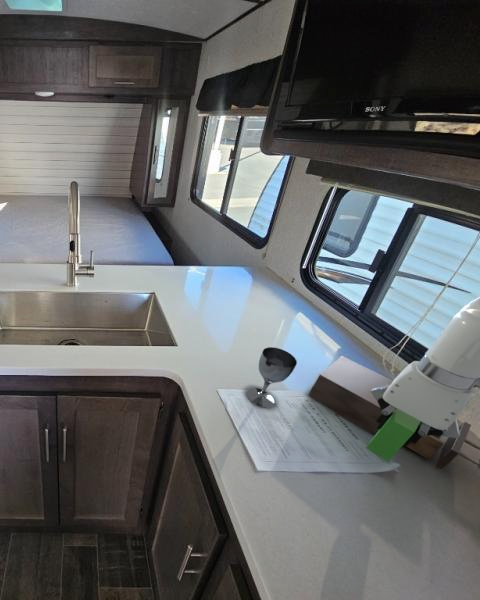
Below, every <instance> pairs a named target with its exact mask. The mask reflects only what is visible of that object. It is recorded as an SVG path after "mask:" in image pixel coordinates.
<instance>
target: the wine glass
mask: <svg viewBox="0 0 480 600" xmlns="http://www.w3.org/2000/svg"><path fill="white" fill-rule="evenodd" d="M297 364H298V361H297V359H296V358H295V356H293V355H292V353H290V352H289V351H287V350H284V349H282V348H278V347H265V348H264V349H263V350H262V351H261V354H260V357H259V361H258V371H259V374H260V376H261V377H262V378H263V381H264V382H263V386H262V389H261V388H258V387H250V388H248V389H247V390H246V396H247V398H248V400H249V401H251V402H252V403H253V404H254V405H257V406H258V407H261V408H265V409H266V408H269V409H270V408H272V407H274V405H275V399H274V397H273V396H272V395H271V394H270V393H269V392H267V389H268V388H269V387H270V385H271V384H276V383H281V382H284V381H286V380H287V379H288V378H289V377H290V376H291V375H292V374H293V372H294V370H295V369H296V366H297Z"/></svg>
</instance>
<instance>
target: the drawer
mask: <svg viewBox="0 0 480 600" xmlns="http://www.w3.org/2000/svg"><path fill="white" fill-rule="evenodd" d="M393 412H394V411H393ZM421 424H422V421H421V422H420V424H419V426H421ZM458 426H459V431H460V436H459V438H451V437H447V439H446V441H443V440H441V437H442V435H441V436H431V435H426V436H422V437H421V438H420V439H419V440H418V441H417V442H416V443H415V444H414V443H412V442H410V443H409V445H408V446H406V445H404V446H405V447H406V448H408V449H410V450H412V451H413V452H415V453H416V454H418V455H420V456H421V457H423V458H425V459H427V460H429V459H430V458H431V457H432V456H433V455H434V454H436V452H437V451H439V449H440V448H441V447H442V449H441V452H440V454H439V456H438V457H437V460H436V462H435V464H434V467H435V468H436V469H438V470H440V471H442V470H443V469H444V468H446V467H447V466H448V465H449V463H451V462H452V461H453V460H454V459H456V457H457V456H459V457H462V458H463V459H465V460H466V461H468V462H470V463H471V464H474V465H475V466H477V468H478V469H479V470H480V459H479V460H476V459H475V458H472V457H470V456H469V455H467V454H465V453H463V452H461V450H462V448H463V445H464V443H465V444H468V445H469V446H471V447H473V448H475V449H476V450H479V451H480V445H479V444H476V443H474V442H473V441H471V440H469V439H467V436H468V434H469V431H470V430H471V427H472V424H470V423H469V422H466V421H463V422H462V423H461V424H460V425H458ZM377 431H379V429H378V430H377Z"/></svg>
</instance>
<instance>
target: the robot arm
mask: <svg viewBox="0 0 480 600" xmlns="http://www.w3.org/2000/svg"><path fill="white" fill-rule="evenodd" d="M392 381H393V382H392V383H391V384H390V385H386V386H381V387H377V388H373V389H372V390H371V394H372V395H373V396H374V397H375V399H377V402H378V404H379V406H380V408H381V410H382V411H381V412H382V414H381V415H380V417H379V418H378V419H377V420H376V422H378V423H379V425H378V426H377V429H381V428H382V427H383V425H384V424H385V423H386V422H387V421H388V419H389V418H390V417H391V415H392V414H393V411H395V410H396V409H399V410H401V411H403V412H405V413H407V414H408V415H410V416H412V417H414V418H416V419H418V420H420V421H422V424H421V426H418V427H417V429H416V431H415V432H414V434H413V435H412V436H411V437H410V438H409V439H408V440H407V441H406V442H405V444H404V445H403V446H405V445H406V446H405V447H407V446H408V445H409V443H410V442H412V443H414V444H415V443H416V442H417V441H418V440H419V439H420V438H421V437H422V436H426V435H431V436H441V437H446V438H448V437H451V438H459V436H460V431H459V426H460V425H459V423H458V418H459V416H461V414H462V413H463V411H464V410H465V409H466V408H467V407H468V405H469V404H470V402H471V401H472V400H473V397H474V396H475V393H476V392H477V388H478V389H480V296H479V297H477V298H475V299H473V300H471V301H470V302H469V303H467V304H465V305H464V306H463V307H462V308H461V309H460V311H459V312H457V313H456V314H455V315H454V316H453V317H452V319H451V320H450V322H449V323H448V324H447V325H446V327H445V328H444V329H443V330H442V332H441V333H440V334H439V336H438V337H437V338H436V339H435V341H434V342H433V344H431V346H430V347H429V348H428V349H427V351H425V353H424V354H423V356H422V357H421V358H420V360H414V361H412V362H411V363H409V364H408V365H407V366H406V367H404V369H402V370H401V371H400V372H399V374H397V376H395V378H394V379H393V380H392ZM383 394H384V395H383Z"/></svg>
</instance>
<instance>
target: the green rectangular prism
mask: <svg viewBox="0 0 480 600" xmlns="http://www.w3.org/2000/svg"><path fill="white" fill-rule="evenodd" d="M420 422H421V421H420V420H418V419H416V418H414V417H412V416H410V415H408V414H407V413H405V412H403V411H401V410H399V409H396V410H395V411H394V412H393V414H392V415H391V417H390V418H389V419H388V421H387V422H386V423H385V424H384V425H383V427H382V428H381V429H379V430H377V431H376V432H375V434H374V436H373V437H372V438H371V440H370V441H369V443H368V444H367V445H366V447H365V449H366V450H368V451H369V452H371V453H372V454H373V455H375V456H377V457H378V458H380V459H381V460H383V461H385V462H386V463H388V462H390V460H392V458H393V457H394V456H395V455H396V454H397V452H398V451H399V450H400V449H401V448H402V447H403V446H405V445H404V444H405V442H406V441H407V440H408V439H409V438H410V437H411V436H412V435H413V434H414V432H415V431H416V429H417V427H418V426H419V424H420Z"/></svg>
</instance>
